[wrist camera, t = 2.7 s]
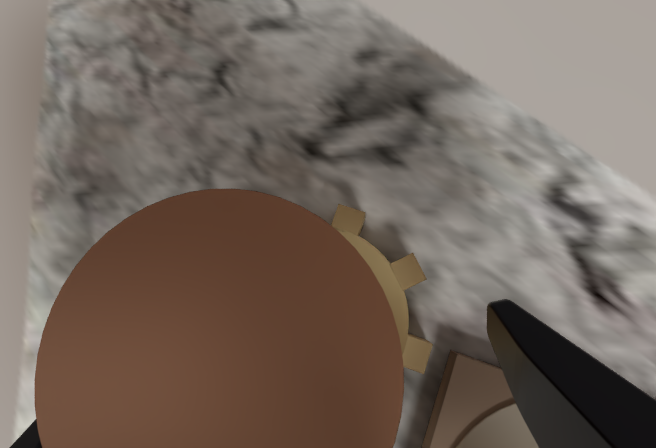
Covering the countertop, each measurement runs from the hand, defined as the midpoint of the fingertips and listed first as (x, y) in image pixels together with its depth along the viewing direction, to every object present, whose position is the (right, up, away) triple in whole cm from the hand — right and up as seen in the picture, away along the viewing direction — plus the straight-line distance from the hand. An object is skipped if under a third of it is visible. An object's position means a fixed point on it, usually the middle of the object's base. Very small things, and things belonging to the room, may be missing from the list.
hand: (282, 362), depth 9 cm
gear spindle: (+1, -1, +8) cm, 8 cm away
